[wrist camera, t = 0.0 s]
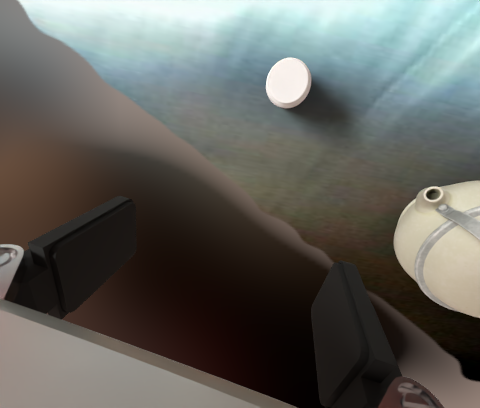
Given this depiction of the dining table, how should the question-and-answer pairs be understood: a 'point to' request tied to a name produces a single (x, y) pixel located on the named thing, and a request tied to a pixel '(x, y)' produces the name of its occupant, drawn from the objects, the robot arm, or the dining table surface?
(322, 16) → the dining table surface
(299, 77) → the pill bottle
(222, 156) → the dining table surface
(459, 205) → the kettle
